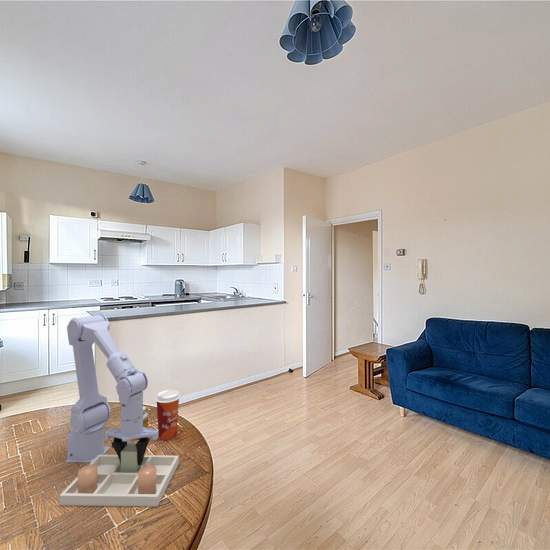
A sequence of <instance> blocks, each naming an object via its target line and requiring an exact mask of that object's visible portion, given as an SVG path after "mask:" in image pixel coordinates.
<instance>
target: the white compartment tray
mask: <svg viewBox="0 0 550 550" xmlns="http://www.w3.org/2000/svg"><path fill="white" fill-rule="evenodd" d="M179 460H180V456H179V455H160V454H159V455H155V454H154V455H153V454H152V455H151V454H149V455H145V454H144V459H143V464H142V466H141V467H140V469H141V468H142V467H144V466H147V465H154V466H156V468H157V478H156V494H138V472H137V473H121V464H120V461H119V458H118V455H117V454H103V455H98V456H97V457H96V458H95V459H94V460H93V461H92V462H89V464H88V465H91V464H95V465H97V466H98V488H97V489H96V491H95V492H94V493H93V494H86V493H78V476H77V477H76V478H75V479H74V480H73V481H72V482H71V483H70V484H69V485H68V486H67V487H66V488H65V489H64V490H63V491H62V492H61V493H60V495H59V501H58V503H59V504H58V505H59V506H62V507H63V506H65V507H66V506H75V507H76V506H77V507H78V506H80V507H81V506H84V507H85V506H87V507H154V508H155V507H156V508H157V507H158V506H159V504H160V502H161V501H162V498H163V497H164V494H165V492H166V490H167V488H168V486H169V485H170V482H171V480H172V478H173V476H174V474H175V472H176V471H177V468H178V466H179V465H180V461H179ZM140 469H139V470H140ZM139 470H138V471H139Z"/></svg>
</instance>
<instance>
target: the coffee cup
mask: <svg viewBox="0 0 550 550" xmlns="http://www.w3.org/2000/svg"><path fill="white" fill-rule="evenodd" d="M156 394H157V395H156V397H155V401H156V411H157V412H156V413H157V430H159V436H158V438H160V439H159V440H162V441H170V440H172V439H174V438H175V437H176V436H177V433H178V421H179V420H178V417H179V403H180V397H181V395H180V392H179V391H178V390H177V389H176V390H175V389H166V390H162V391H159V393H156Z"/></svg>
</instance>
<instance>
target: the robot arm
mask: <svg viewBox="0 0 550 550" xmlns="http://www.w3.org/2000/svg"><path fill="white" fill-rule="evenodd" d="M110 324H111V323H110V321H109V319H108V317H107V316H106V315H105V314H98V315H91V316H90V315H89V316H83V317H73V318H71V319H70V320H69V322H68V324H67V326H66V331H67V332H66V333H67V339H68V345H69V346H72V352H73V358H74V364H75V365H74V366H75V373H76V374H75V375H76V381H77V388H78V389H77V390H78V396H79V399H78V400H77V401H76V402H75V403H74V404H73V406H71V408H70V413H71V414H70V418H69V419H70V420H69V421H70V423H69V424H70V427H71V431H70V432H69V435H68V436H67V447H66V448H67V459H66V460H65V462H66V463H67V462H68V463H91V462H92V461H93V460H94V459H95V458H96V457H97V456H98V455H105V454H106V452H107V451H108V450H109V449H110V448H111V447H112V448H113V449H114V451H115V453H116V455H118V458H119V461H120V464H121V451H122V450H123V449H124V448H125V446H126V445H127V444H128V443H129V441H131V440H138V441H137V442H135V443H136V448H137V461H138V465H141V463H142V462H143V459H144V455H145V453H146V451H147V447H148V444H149V442H150V440H152V441H157V439H158V438H159V430H158V429H153V428H149V427H148V428H145V427H143V406H144V391H145V390H146V389H147V388H148V386H149V385H148V384H149V379H148V377H147V375H146V374H145V372H144V371H142V370H140V369H139V368H136V367H135V365H134V364H133V363H132V361H131V360H130V357H128V355H127V353H125V352H121V351H119V348H118V347H117V344H116V343H115V340H114V339H113V337H112V335H111V332H110V326H111V325H110ZM94 343H95V344H96V346H97V348H99V350H101V352H102V353H103V355H104V356H105V357H106V358H107V361H106V367H107V368H108V370H109V372H110V373H111V375H112V377H113V378H114V380H115V382H116V383H117V384H116V385H115V389H116V393H117V395H118V401H119V404H120V427H119V428H111V429H110V428H109V429H107V430H106V431H105V425H107V421H108V420H109V419H110V417H111V413H112V410H111V406H110V404H109V402H108V398H107V397H106V396H105V395H103V394H100V392H99V386H98V379H97V372H96V371H97V370H96V365H95V364H96V363H95V357H94V350H93V345H94ZM110 439H113V441H112V442H111V446H107V445H105V440H110Z"/></svg>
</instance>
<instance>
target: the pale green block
mask: <svg viewBox="0 0 550 550" xmlns="http://www.w3.org/2000/svg"><path fill="white" fill-rule="evenodd" d="M136 443H137V442H127V445H126V446H125V448H124V449H123V450H122V451H121V473H137V472H138V470H139V469H140V467H141V466H142V464H143V462H142V463H141V465H138V461H137V448H136Z"/></svg>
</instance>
